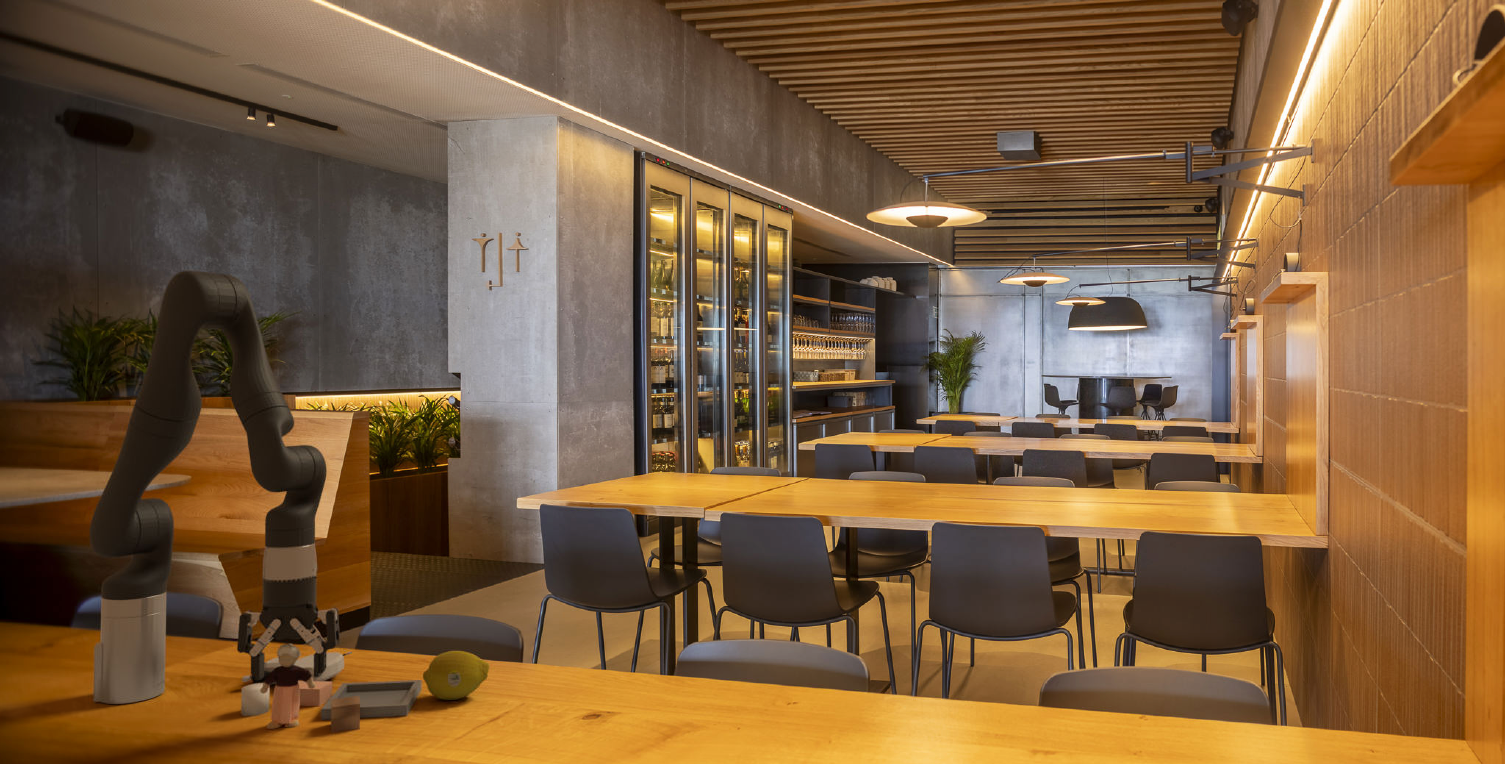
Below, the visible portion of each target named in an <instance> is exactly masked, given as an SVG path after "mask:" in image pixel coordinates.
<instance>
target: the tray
mask: <svg viewBox="0 0 1505 764" xmlns="http://www.w3.org/2000/svg"><path fill="white" fill-rule="evenodd" d="M422 682H423V681H422V680H421V679H414V680H413V679H412V680H411V679H410V680H409V679H408V680H388V681H385V680H384V681H369V682H368V681H365V682H364V681H363V682H344V683H342V684H341V685H340V686H339V687H338V688H337V690H336V691H335V692H334V693H332V697H331V698H330V699H329V700H328V701H327V702H325V703H324V705H323V706H322V707H321V709H320V720H321V721H322V720H323V721H327V720H328V721H329V720H331V699H337V698H346V697H354V696H359V699H360V719H366V718H368V719H369V718H386V717H387V718H388V717H389V718H390V717H406V716H408V715H409V713H410V710H411V709H412V707H414V704H415V702H416V700H417V698H418V697H417V696H419V695H420V693H421V691H422Z"/></svg>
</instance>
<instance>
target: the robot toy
mask: <svg viewBox="0 0 1505 764" xmlns="http://www.w3.org/2000/svg"><path fill="white" fill-rule="evenodd" d="M314 654H315V653H313V654H309V655H307V656H306V655H305V656H304V657H302V658H298V659H297V660H296V662H295V664H294V665H296V666H299V667H302V668H304V669H305V670H307V671H308V672H309V673H311V674H312V679H313V681H327V680H328V679H331V678H333V677H335V676H337V675H338V674H339V673H341V672H342V671H343V669H344V668H345V657H344V656H347V655H351V654H353V652H352V651H347V652H346V653H343V654H341V653H340V652H337V651H336V652H327V657H326V670H325V671H324V672H323V673H322V675H321V676H320V677H314ZM279 666H282V665H280V663H279V658H278V657H274V658H271V659H269V660H267V661H264V677H263V678H262V679H261V680H255V676H252V675H251V674H249V675H248V674H247V675H243V677H242V678H241V682H243V683H248V682H250V681H252V682H251V683H252V684H258V683H264V680H265V679H266V678H267V676H268V675H269V674H270V673H271V672H272V671H273V670H274V669H275V668H276V667H279ZM298 681H301V680H298ZM276 682H277V681H276ZM276 682H274V683H272V684H271V685H276Z"/></svg>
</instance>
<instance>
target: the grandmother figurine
mask: <svg viewBox="0 0 1505 764" xmlns="http://www.w3.org/2000/svg"><path fill="white" fill-rule="evenodd" d="M276 655H277V658H279V663H280V665H282V666H279V667H276V668H275V669H274V670H273V671H272V672H271V673H270V674H269V675H268V676H267V678H266V679H265V680H264V682H263V683H264V684H263V687H262V688H261V690H260V692H261V693H266V692H267V691H268V688H269V687H270V686H271V685H273V684H272V683H274V682H276V681H277V682H276V684H275V686H274V688H273V689H274V690H273V695H272V705H271V706H272V707H271V717H270V720H271V721H270V722H269V723H267V726H266V728H267V729H268V730H269V729H270V730H272V729H273V730H274V729H278V728H281V726H283V725H284V727H285V728H294V727H298V726H299V725H300V723H299V722H300V721H299V719H298V718H299V715H300V707H301V705H300V689H299V684H298V680H301V681H304V682H306V683H307V684H308V687H309V688H310V689H312V688H314V687H315V683H314V682H313V679H312V674H311V673H309V672H308V671H307V670H305V669H304V668H302V667H299V666H296V665H294V664H295V662H296V660H299V659H300V657H301V655H302V653H301V650H300V649H299V648H298V647H297V646H296V645H294V644H292V643H285V644H282V645H280V646H279V647H278V649H277V651H276ZM270 688H271V687H270ZM270 688H269V689H270Z"/></svg>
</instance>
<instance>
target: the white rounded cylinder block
mask: <svg viewBox="0 0 1505 764" xmlns="http://www.w3.org/2000/svg"><path fill="white" fill-rule="evenodd" d="M263 684H264V682H260V683H252V684H247V685H245V686H243V687H241V696H240V697H241V699H240V700H241V701H240V702H241V703H240V705H241V706H240V714H241V716H244V717H255V716H261V715H263V714H267V713H268V712H269V711H270V688H271V687H269V688H268V691H267V692H266V693H261V692H260V690H261V688H262V687H263Z"/></svg>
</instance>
